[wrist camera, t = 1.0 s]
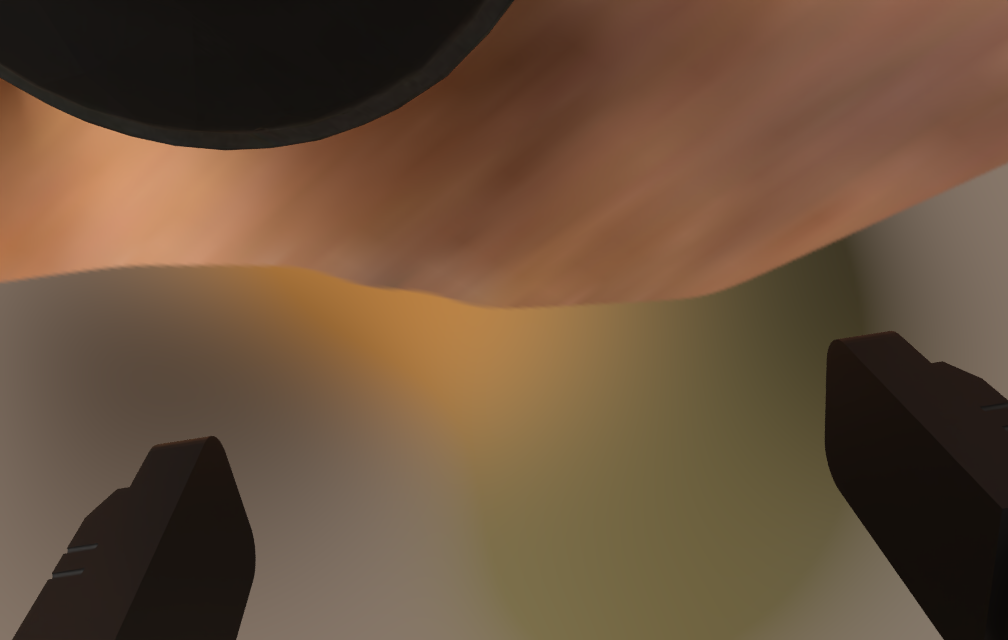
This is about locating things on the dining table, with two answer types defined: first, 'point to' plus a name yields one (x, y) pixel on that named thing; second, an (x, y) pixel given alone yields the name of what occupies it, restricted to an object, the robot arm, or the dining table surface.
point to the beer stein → (236, 63)
